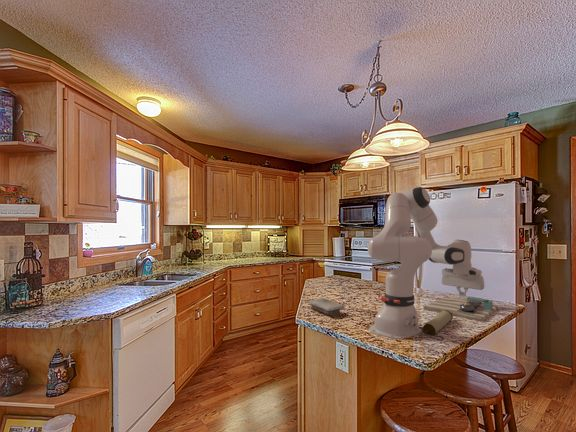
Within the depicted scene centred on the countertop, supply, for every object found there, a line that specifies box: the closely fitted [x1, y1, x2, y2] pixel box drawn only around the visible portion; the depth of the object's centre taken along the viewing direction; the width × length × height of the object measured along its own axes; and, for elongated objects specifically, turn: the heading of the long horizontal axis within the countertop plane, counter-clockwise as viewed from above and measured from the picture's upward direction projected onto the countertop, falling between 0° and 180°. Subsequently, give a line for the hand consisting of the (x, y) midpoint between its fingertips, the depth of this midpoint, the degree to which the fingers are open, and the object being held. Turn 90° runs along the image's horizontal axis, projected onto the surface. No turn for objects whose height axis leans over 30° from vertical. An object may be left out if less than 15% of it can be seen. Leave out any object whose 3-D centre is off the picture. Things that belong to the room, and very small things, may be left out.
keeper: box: [466, 296, 493, 311], centre depth 153 cm, size 3×10×4 cm, turn 44°
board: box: [423, 296, 499, 322], centre depth 157 cm, size 29×26×2 cm
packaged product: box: [307, 297, 345, 316], centre depth 152 cm, size 18×5×10 cm
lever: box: [460, 300, 483, 312], centre depth 153 cm, size 21×6×3 cm, turn 135°
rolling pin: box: [422, 310, 454, 336], centre depth 130 cm, size 32×6×5 cm, turn 136°
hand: (462, 295), depth 164 cm, fingers closed
